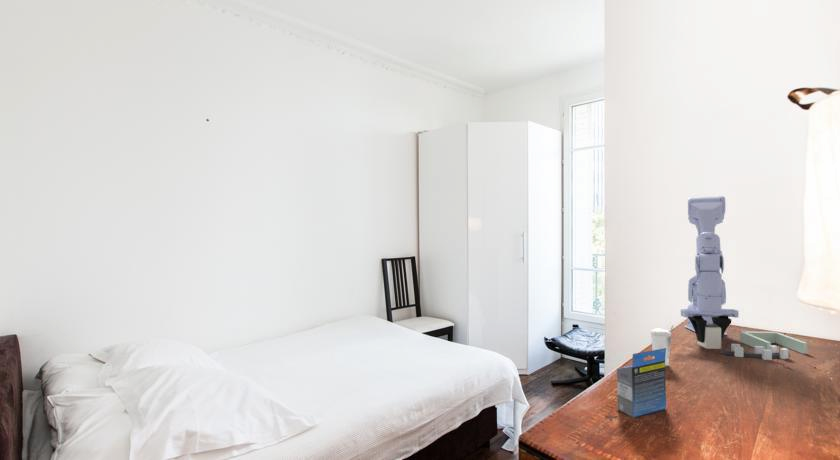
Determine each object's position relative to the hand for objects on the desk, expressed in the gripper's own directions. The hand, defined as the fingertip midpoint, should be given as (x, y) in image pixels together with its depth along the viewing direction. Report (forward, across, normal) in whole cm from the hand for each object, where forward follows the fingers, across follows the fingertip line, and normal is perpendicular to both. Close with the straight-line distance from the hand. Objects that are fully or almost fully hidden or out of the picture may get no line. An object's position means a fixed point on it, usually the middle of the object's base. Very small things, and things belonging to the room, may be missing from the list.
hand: (709, 341), depth 113 cm
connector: (+1, 0, 0) cm, 1 cm away
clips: (+1, +8, -7) cm, 11 cm away
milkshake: (+2, -20, -15) cm, 25 cm away
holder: (+1, +16, 0) cm, 17 cm away
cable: (+1, +8, -7) cm, 11 cm away
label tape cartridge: (+2, -36, -40) cm, 54 cm away
